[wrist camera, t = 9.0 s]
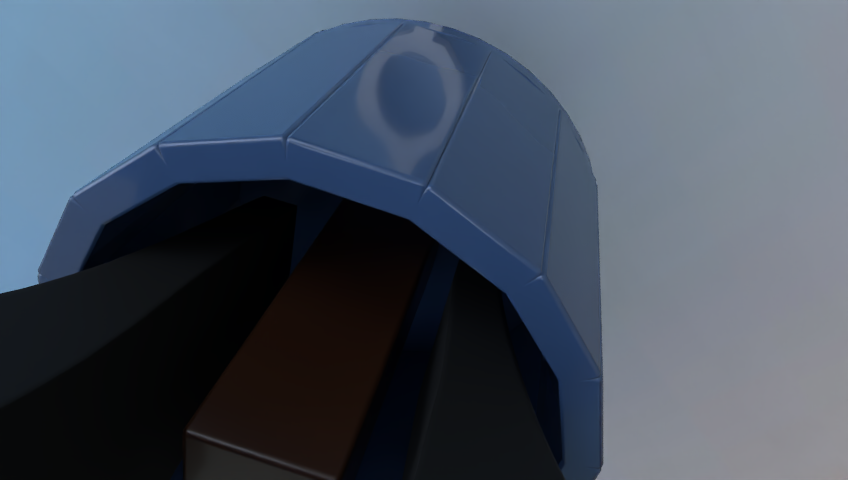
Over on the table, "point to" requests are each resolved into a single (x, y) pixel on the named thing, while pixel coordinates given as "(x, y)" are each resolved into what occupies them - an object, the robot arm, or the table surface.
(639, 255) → the table surface
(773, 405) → the table surface
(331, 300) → the dark brown square post
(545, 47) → the table surface
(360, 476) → the cup
